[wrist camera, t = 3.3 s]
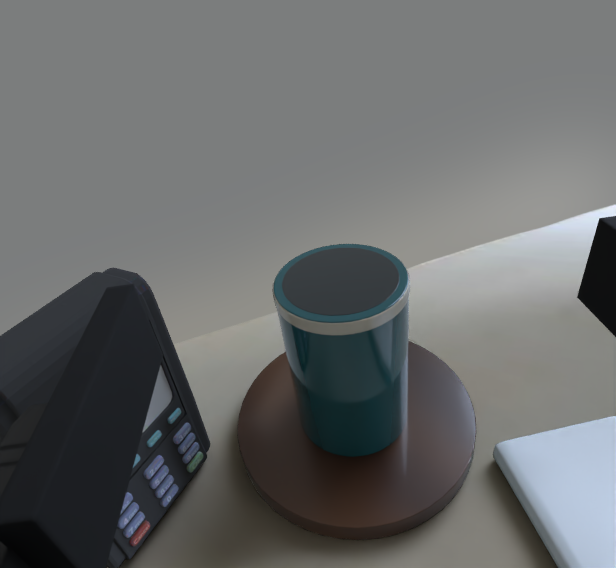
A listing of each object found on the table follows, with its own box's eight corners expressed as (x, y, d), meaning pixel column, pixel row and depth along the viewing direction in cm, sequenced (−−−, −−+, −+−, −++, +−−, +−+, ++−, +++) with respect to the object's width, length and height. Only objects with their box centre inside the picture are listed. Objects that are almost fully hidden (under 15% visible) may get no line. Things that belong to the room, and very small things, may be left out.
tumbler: (359, 354, 35) (350, 230, 29) (432, 414, 30) (440, 278, 24) (278, 404, 32) (248, 277, 26) (343, 480, 27) (325, 344, 20)
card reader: (122, 588, 25) (-27, 410, 16) (74, 555, 27) (-82, 379, 18) (222, 452, 31) (153, 273, 22) (178, 433, 33) (99, 260, 24)
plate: (366, 318, 41) (365, 306, 40) (527, 434, 29) (530, 421, 29) (205, 411, 34) (200, 398, 33) (331, 606, 23) (329, 595, 22)
